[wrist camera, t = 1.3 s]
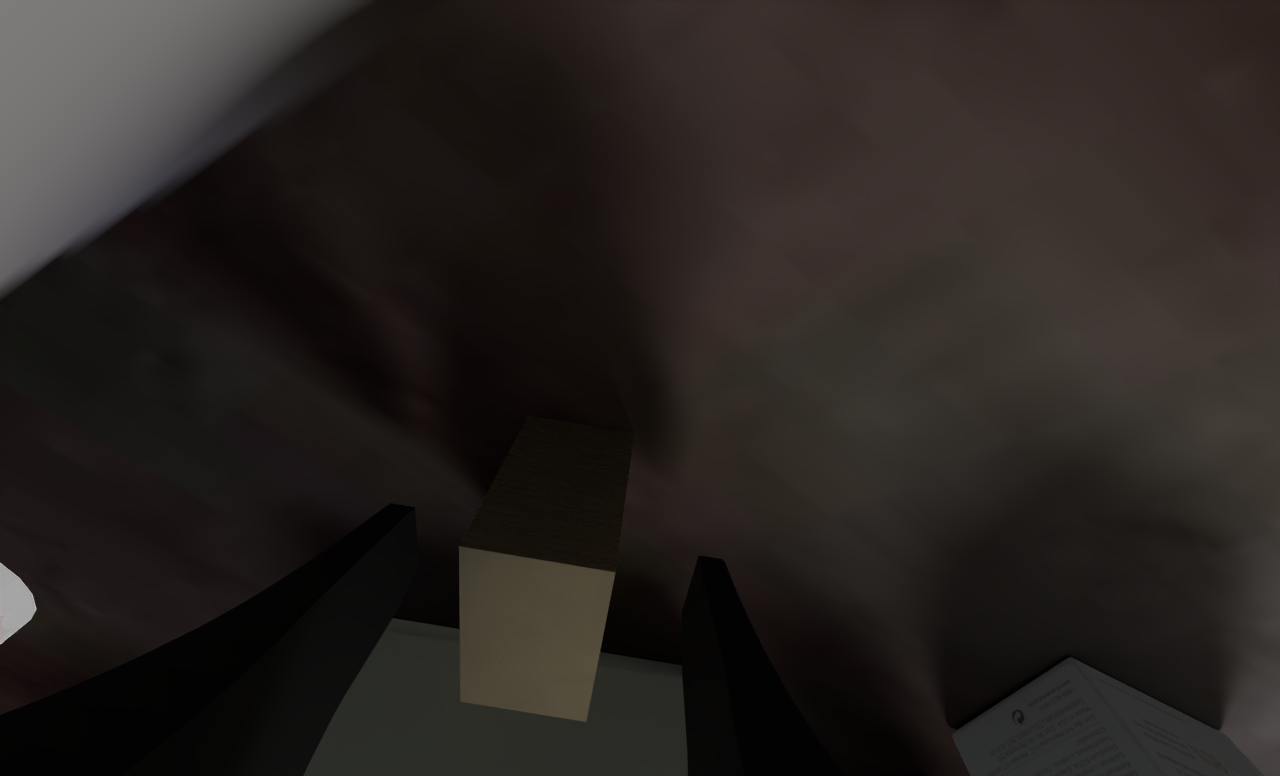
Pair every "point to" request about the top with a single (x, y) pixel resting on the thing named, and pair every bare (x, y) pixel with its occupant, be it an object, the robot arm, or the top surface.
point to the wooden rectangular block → (543, 569)
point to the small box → (1092, 733)
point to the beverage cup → (13, 603)
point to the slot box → (497, 719)
